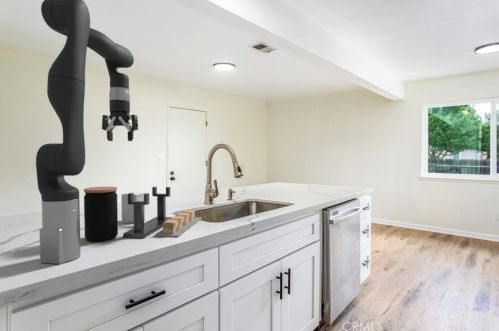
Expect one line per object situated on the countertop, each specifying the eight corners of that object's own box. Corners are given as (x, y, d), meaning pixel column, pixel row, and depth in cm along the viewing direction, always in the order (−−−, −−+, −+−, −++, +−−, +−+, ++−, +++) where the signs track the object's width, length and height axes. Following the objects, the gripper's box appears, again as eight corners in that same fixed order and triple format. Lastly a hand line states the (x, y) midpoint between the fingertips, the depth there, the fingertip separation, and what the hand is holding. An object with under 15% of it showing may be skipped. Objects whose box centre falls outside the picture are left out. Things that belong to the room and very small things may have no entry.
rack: (144, 238, 107) (143, 195, 106) (123, 237, 108) (122, 194, 107) (173, 220, 134) (173, 186, 134) (156, 219, 135) (156, 185, 135)
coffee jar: (109, 232, 114) (108, 185, 113) (123, 237, 107) (122, 188, 106) (79, 238, 106) (78, 188, 105) (92, 244, 99) (91, 191, 98)
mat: (178, 237, 108) (178, 235, 108) (154, 236, 109) (154, 234, 109) (201, 218, 138) (201, 217, 138) (182, 218, 139) (182, 216, 139)
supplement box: (136, 223, 128) (136, 194, 128) (121, 222, 130) (120, 193, 129) (145, 219, 135) (145, 192, 135) (131, 219, 137) (130, 191, 136)
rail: (173, 233, 110) (173, 223, 110) (162, 233, 111) (162, 222, 111) (194, 218, 136) (194, 209, 136) (186, 218, 137) (186, 209, 136)
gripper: (97, 99, 116) (97, 140, 117) (131, 98, 114) (131, 140, 115) (109, 102, 124) (109, 141, 124) (141, 101, 122) (141, 141, 122)
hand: (120, 141), depth 120 cm, fingers open, 8 cm apart
